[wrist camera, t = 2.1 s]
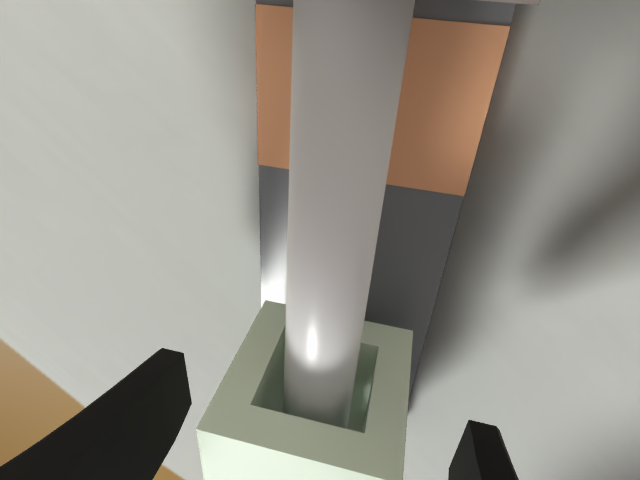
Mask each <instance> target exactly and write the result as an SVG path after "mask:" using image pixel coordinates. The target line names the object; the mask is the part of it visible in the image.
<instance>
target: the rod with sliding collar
mask: <svg viewBox="0 0 640 480" xmlns="http://www.w3.org/2000/svg"><path fill="white" fill-rule="evenodd" d="M516 3H517V4H529V5H539V3H540V0H256V4H255V16H256V73H257V130H258V165H259V197H260V258H261V307H262V306H263V304H264V302H265V300H267V301H272V302H277V303H282V304H286V322H285V362H284V403H283V413H285V414H289V415H293V416H297V417H301V418H305V419H309V420H313V421H317V422H321V423H325V424H329V425H333V426H337V427H341V428H345V429H348V428H347V426H348V420H349V414H350V407H351V401H352V395H353V388H354V382H355V376H356V370H357V363H358V357H359V351H360V344H361V338H362V332H363V325H364V321H369V322H373V323H378V324H383V325H388V326H393V327H397V328H402V329H407V330H412V331H413V341H412V355H411V369H410V384H409V397H410V393H411V390H412V386H413V382H414V379H415V375H416V371H417V367H418V364H419V360H420V356H421V353H422V349H423V345H424V342H425V338H426V334H427V331H428V327H429V323H430V320H431V316H432V312H433V309H434V305H435V301H436V297H437V294H438V290H439V286H440V283H441V279H442V275H443V272H444V268H445V264H446V261H447V257H448V253H449V250H450V246H451V242H452V238H453V235H454V231H455V227H456V224H457V220H458V216H459V213H460V209H461V205H462V202H463V198H464V196H465V192H466V189H467V185H468V181H469V177H470V174H471V170H472V166H473V163H474V159H475V155H476V152H477V148H478V144H479V141H480V137H481V133H482V130H483V126H484V122H485V119H486V115H487V111H488V108H489V104H490V100H491V97H492V93H493V89H494V86H495V82H496V78H497V75H498V71H499V67H500V64H501V60H502V56H503V52H504V49H505V45H506V41H507V38H508V34H509V30H510V25H511V21H512V17H513V14H514V10H515V6H516ZM408 401H409V398H408ZM349 430H352V429H349ZM353 431H355V430H353ZM357 432H359V431H357ZM361 433H362V432H361Z"/></svg>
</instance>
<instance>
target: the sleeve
mask: <svg viewBox="0 0 640 480" xmlns="http://www.w3.org/2000/svg"><path fill="white" fill-rule="evenodd" d="M285 322H286V304H282V303H277V302H272V301H267V300H265V302H264V304H263V306H262V307H261V309H260V311H259V313H258V315H257V317H256V319H255V320H254V322H253V324H252V326H251V328H250V330H249V332H248V334H247V335H246V337H245V339H244V341H243V343H242V345H241V347H240V348H239V350H238V352H237V354H236V356H235V358H234V360H233V361H232V363H231V365H230V367H229V369H228V371H227V373H226V374H225V376H224V378H223V380H222V382H221V384H220V386H219V387H218V389H217V391H216V393H215V395H214V397H213V399H212V400H211V402H210V404H209V406H208V408H207V410H206V412H205V413H204V415H203V417H202V419H201V421H200V423H199V425H198V426H197V428H196V432H197V438H198V445H199V451H200V457H201V464H202V470H203V477H204V480H403V471H404V456H405V442H406V427H407V413H408V398H409V384H410V369H411V355H412V341H413V331H412V330H407V329H402V328H397V327H393V326H388V325H383V324H378V323H373V322H369V321H364V325H363V332H362V338H361V344H360V351H359V357H358V363H357V370H356V376H355V382H354V388H353V395H352V401H351V407H350V414H349V420H348V426H347V428H348V429H345V428H341V427H337V426H333V425H329V424H325V423H321V422H317V421H313V420H309V419H305V418H301V417H297V416H293V415H289V414H285V413H283V403H284V362H285ZM349 429H352V430H349ZM353 430H355V431H353ZM357 431H359V432H357ZM361 432H362V433H361Z"/></svg>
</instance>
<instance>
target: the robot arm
mask: <svg viewBox="0 0 640 480" xmlns="http://www.w3.org/2000/svg"><path fill="white" fill-rule="evenodd" d="M191 404H192V402H191V396H190V390H189V383H188V377H187V371H186V365H185V359H184V353H181V352H177V351H173V350H168V349H164V348H162V349H160V350H159V351H157V352H156V353H155V354H154V355H152V356H151V357H150V358H148V359H147V360H146V361H145V362H144V363H142V364H141V365H140V366H139V367H137V368H136V369H135V370H134V371H132V372H131V373H130V374H129V375H127V376H126V377H125V378H124V379H122V380H121V381H120V382H118V383H117V384H116V385H115V386H113V387H112V388H111V389H110V390H108V391H107V392H106V393H104V394H103V395H102V396H100V397H99V398H98V399H96V400H95V401H94V402H93V403H91V404H90V405H89V406H87V407H86V408H85V409H83V410H82V411H81V412H80V413H78V414H77V415H75V416H74V417H73V418H71V419H70V420H69V421H67V422H66V423H64V424H63V425H61V426H60V427H58V428H57V429H56V430H54V431H53V432H51V433H50V434H49V435H47V436H46V437H44V438H43V439H42V440H40V441H39V442H37V443H36V444H34V445H33V446H31V447H30V448H28V449H27V450H25V451H24V452H22V453H21V454H19V455H18V456H16V457H15V458H13V459H12V460H10V461H9V462H7V463H5V464H4V465H2V466H0V480H152V479H153V478H154V476H155V474H156V473H157V471H158V469H159V467H160V466H161V464H162V462H163V461H164V459H165V457H166V455H167V454H168V452H169V450H170V449H171V447H172V445H173V443H174V442H175V439H176V437H177V435H178V433H179V431H180V429H181V427H182V424H183V422H184V420H185V417H186V415H187V413H188V411H189V408H190V406H191ZM449 480H519V479H518V477H517V474H516V472H515V470H514V467H513V465H512V462H511V460H510V457H509V454H508V452H507V449H506V447H505V444H504V441H503V439H502V436H501V433H500V430H499V429H498V428H497V427H496V426H493V425H489V424H484V423H480V422H476V421H472V420H469V421H468V423H467V426H466V428H465V431H464V433H463V435H462V438H461V440H460V443H459V445H458V448H457V450H456V453H455V455H454V457H453V460H452V462H451V465H450V467H449Z"/></svg>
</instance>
